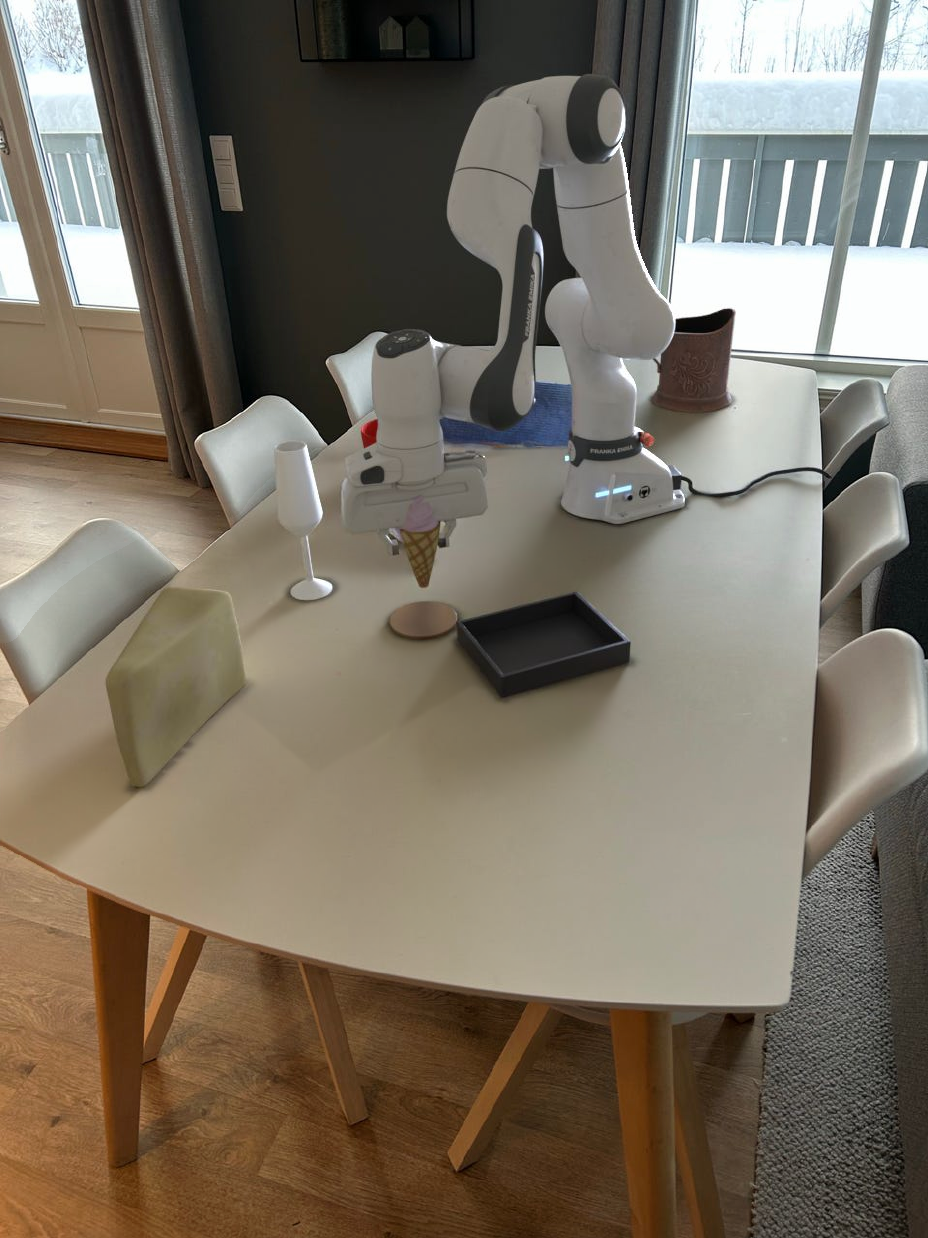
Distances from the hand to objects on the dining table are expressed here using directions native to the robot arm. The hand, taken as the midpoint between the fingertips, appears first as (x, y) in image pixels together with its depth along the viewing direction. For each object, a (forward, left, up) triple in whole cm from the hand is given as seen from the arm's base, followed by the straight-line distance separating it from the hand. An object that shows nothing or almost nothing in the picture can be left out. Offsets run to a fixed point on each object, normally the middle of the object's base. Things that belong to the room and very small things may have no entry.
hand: (418, 550), depth 128 cm
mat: (-33, -78, -12) cm, 85 cm away
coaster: (0, 0, -12) cm, 12 cm away
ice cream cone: (0, 0, -6) cm, 6 cm away
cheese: (+35, +16, -12) cm, 40 cm away
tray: (-14, +13, -12) cm, 23 cm away
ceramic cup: (-8, -55, -12) cm, 57 cm away
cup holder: (-80, -79, -12) cm, 113 cm away
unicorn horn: (-2, -30, -12) cm, 32 cm away
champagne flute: (+15, -15, -12) cm, 24 cm away
